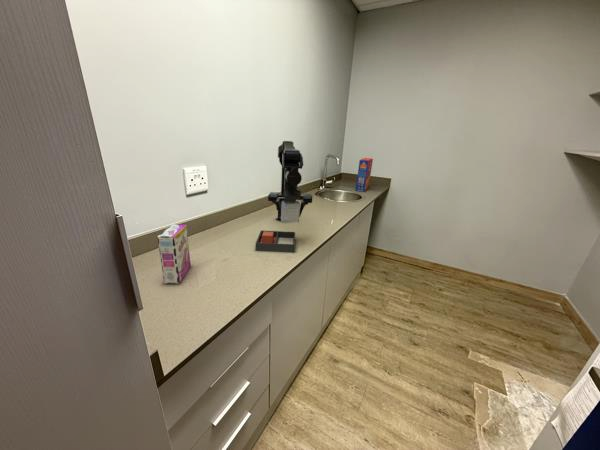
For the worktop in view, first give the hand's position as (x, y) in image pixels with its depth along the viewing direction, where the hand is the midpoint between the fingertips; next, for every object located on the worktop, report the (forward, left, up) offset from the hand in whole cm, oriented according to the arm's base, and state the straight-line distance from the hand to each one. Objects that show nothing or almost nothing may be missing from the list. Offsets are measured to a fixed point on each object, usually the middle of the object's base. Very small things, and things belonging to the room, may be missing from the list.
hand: (289, 216), depth 107 cm
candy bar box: (-16, -45, -13) cm, 49 cm away
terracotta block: (-6, -8, -12) cm, 15 cm away
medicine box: (0, 0, -2) cm, 2 cm away
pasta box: (-7, +147, -13) cm, 147 cm away
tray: (-3, -6, -12) cm, 14 cm away
